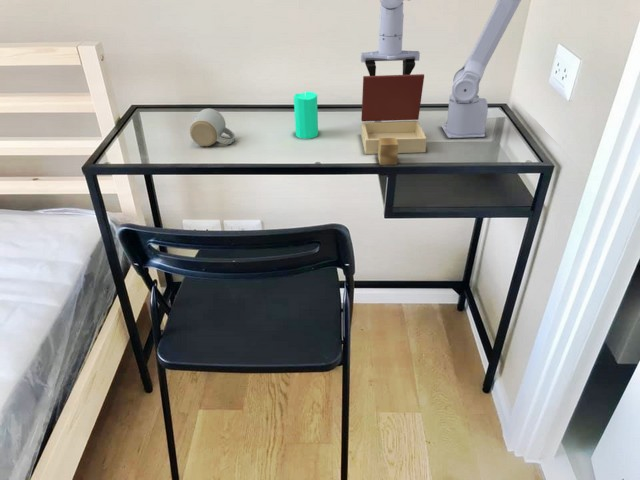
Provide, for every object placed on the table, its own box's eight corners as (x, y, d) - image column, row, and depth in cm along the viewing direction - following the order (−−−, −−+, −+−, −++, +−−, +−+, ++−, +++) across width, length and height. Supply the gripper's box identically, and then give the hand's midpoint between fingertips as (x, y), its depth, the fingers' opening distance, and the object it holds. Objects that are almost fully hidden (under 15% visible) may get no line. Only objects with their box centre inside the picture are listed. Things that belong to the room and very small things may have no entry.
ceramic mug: (190, 147, 135) (185, 118, 131) (199, 135, 142) (195, 107, 137) (231, 149, 134) (228, 119, 130) (238, 136, 141) (235, 108, 137)
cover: (424, 75, 127) (421, 65, 130) (363, 77, 127) (362, 67, 130) (418, 119, 136) (415, 109, 140) (361, 121, 137) (360, 111, 140)
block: (394, 157, 127) (395, 137, 124) (397, 164, 123) (398, 144, 121) (377, 158, 127) (378, 138, 124) (379, 165, 123) (380, 144, 121)
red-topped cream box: (425, 152, 129) (426, 138, 127) (365, 154, 129) (365, 140, 127) (417, 133, 139) (418, 120, 137) (361, 135, 139) (361, 122, 137)
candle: (319, 130, 143) (318, 85, 136) (317, 138, 138) (315, 93, 131) (297, 130, 143) (294, 85, 137) (294, 138, 138) (291, 92, 132)
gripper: (362, 38, 127) (361, 95, 134) (423, 36, 127) (419, 93, 134) (360, 32, 133) (359, 86, 140) (418, 30, 133) (414, 85, 140)
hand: (388, 89), depth 137 cm, fingers open, 7 cm apart
